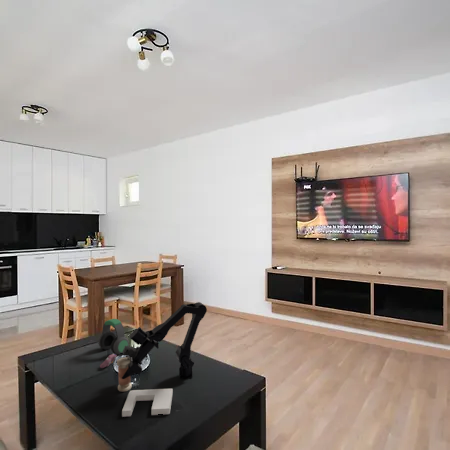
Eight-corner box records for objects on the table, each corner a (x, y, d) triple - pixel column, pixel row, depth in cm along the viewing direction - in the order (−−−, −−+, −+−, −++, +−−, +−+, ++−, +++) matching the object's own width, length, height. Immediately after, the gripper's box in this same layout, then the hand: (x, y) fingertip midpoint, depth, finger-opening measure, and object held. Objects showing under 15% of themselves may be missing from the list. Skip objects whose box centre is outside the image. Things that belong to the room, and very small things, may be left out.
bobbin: (133, 383, 162) (132, 356, 162) (130, 391, 156) (129, 363, 155) (119, 384, 162) (118, 357, 161) (116, 392, 155) (115, 364, 154)
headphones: (96, 350, 203) (96, 319, 203) (111, 344, 212) (111, 315, 212) (115, 358, 192) (115, 325, 192) (130, 351, 201) (130, 320, 201)
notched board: (172, 393, 154) (172, 388, 154) (169, 414, 138) (169, 408, 138) (130, 395, 152) (130, 390, 152) (122, 416, 136) (122, 410, 136)
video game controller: (105, 371, 179) (110, 361, 178) (98, 367, 180) (103, 357, 179) (114, 363, 189) (119, 353, 188) (108, 359, 189) (113, 349, 189)
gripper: (130, 334, 168) (108, 358, 164) (135, 347, 151) (110, 375, 147) (145, 346, 172) (124, 370, 168) (152, 360, 155) (128, 388, 151)
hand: (121, 375), depth 158 cm, fingers closed on bobbin, 6 cm apart
